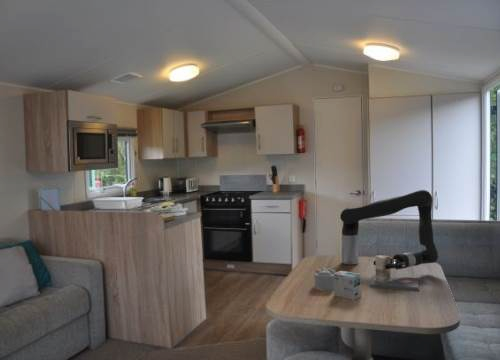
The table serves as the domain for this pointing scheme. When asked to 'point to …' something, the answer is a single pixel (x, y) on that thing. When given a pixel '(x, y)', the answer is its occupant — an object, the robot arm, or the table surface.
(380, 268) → the pale ash block
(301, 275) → the table surface
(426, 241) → the robot arm
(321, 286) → the lumpy-topped squat cylinder
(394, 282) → the charcoal board
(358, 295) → the light bulb box
